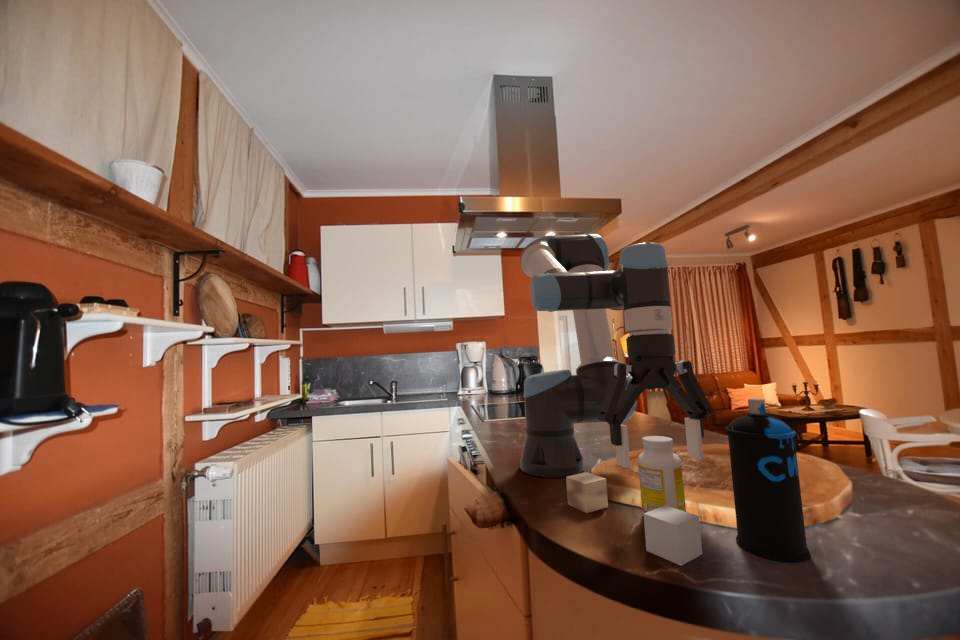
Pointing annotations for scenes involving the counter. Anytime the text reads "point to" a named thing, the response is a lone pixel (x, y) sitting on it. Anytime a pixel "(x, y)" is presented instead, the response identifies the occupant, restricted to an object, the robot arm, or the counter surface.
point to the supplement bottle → (660, 475)
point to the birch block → (587, 492)
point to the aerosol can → (766, 486)
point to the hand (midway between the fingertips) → (660, 462)
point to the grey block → (673, 534)
